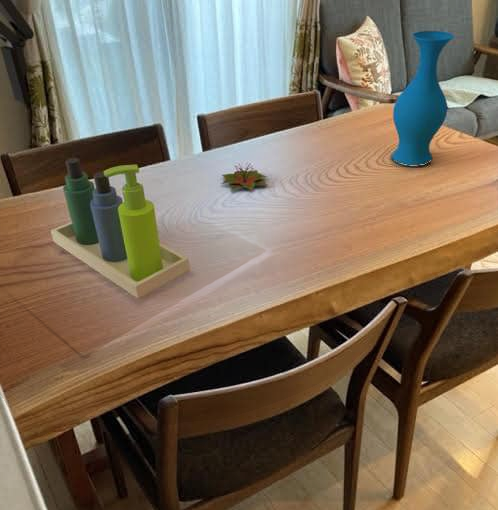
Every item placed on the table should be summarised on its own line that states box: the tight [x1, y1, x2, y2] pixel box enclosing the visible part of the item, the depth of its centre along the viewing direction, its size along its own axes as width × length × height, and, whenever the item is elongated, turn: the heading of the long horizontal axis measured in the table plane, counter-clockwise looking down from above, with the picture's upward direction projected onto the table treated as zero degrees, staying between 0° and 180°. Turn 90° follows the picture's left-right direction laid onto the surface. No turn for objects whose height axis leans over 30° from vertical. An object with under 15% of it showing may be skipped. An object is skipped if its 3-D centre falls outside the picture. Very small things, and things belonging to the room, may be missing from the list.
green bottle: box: [62, 157, 99, 245], centre depth 102 cm, size 6×6×16 cm
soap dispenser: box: [103, 164, 163, 281], centre depth 91 cm, size 6×7×20 cm
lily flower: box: [220, 162, 269, 192], centre depth 125 cm, size 12×12×5 cm
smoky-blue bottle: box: [90, 171, 127, 262], centre depth 97 cm, size 6×6×16 cm
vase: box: [391, 30, 455, 168], centre depth 125 cm, size 12×13×28 cm
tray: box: [50, 221, 190, 299], centre depth 101 cm, size 28×12×3 cm, turn 46°
